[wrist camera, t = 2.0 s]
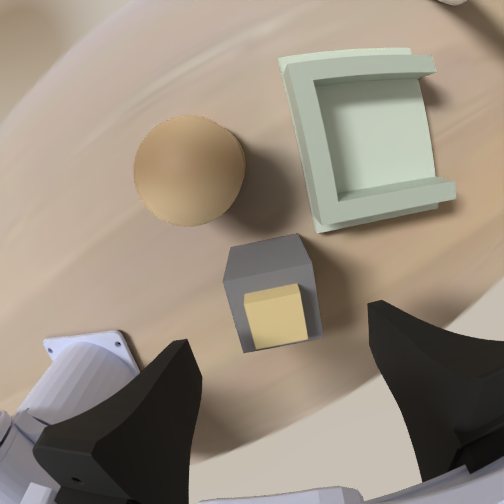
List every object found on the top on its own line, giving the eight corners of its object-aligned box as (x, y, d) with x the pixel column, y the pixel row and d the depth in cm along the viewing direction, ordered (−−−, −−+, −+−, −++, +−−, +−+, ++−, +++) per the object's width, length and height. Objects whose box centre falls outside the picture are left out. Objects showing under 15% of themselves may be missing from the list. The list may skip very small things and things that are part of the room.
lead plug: (308, 293, 20) (327, 349, 14) (245, 306, 20) (243, 365, 14) (297, 233, 19) (315, 271, 13) (230, 247, 19) (220, 290, 13)
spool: (254, 198, 18) (254, 212, 14) (170, 218, 18) (150, 237, 15) (234, 112, 16) (228, 102, 13) (149, 136, 17) (122, 134, 13)
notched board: (431, 205, 18) (457, 216, 15) (314, 229, 18) (325, 245, 16) (404, 51, 15) (426, 38, 12) (278, 61, 15) (282, 45, 13)
